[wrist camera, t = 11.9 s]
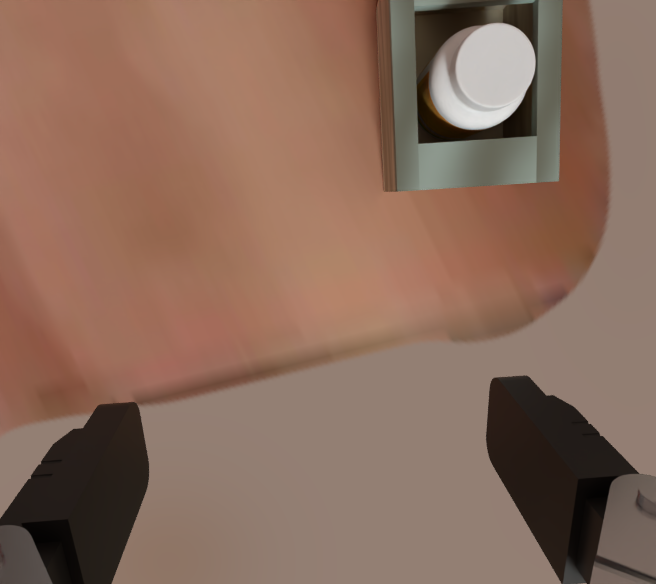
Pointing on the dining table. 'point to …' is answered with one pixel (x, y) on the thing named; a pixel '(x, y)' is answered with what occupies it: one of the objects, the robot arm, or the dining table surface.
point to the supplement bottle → (474, 81)
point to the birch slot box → (483, 147)
